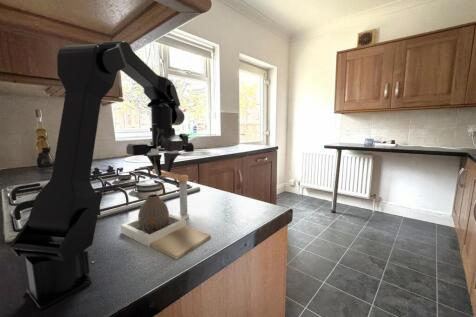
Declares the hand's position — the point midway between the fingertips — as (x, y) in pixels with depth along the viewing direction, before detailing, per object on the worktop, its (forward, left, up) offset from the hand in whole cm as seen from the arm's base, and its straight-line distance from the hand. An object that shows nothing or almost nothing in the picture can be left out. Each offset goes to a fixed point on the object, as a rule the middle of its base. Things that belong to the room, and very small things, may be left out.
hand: (163, 176), depth 66 cm
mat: (-11, -19, -10) cm, 24 cm away
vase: (-11, -10, -10) cm, 18 cm away
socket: (-8, -10, -10) cm, 17 cm away
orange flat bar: (-1, -4, +1) cm, 4 cm away
